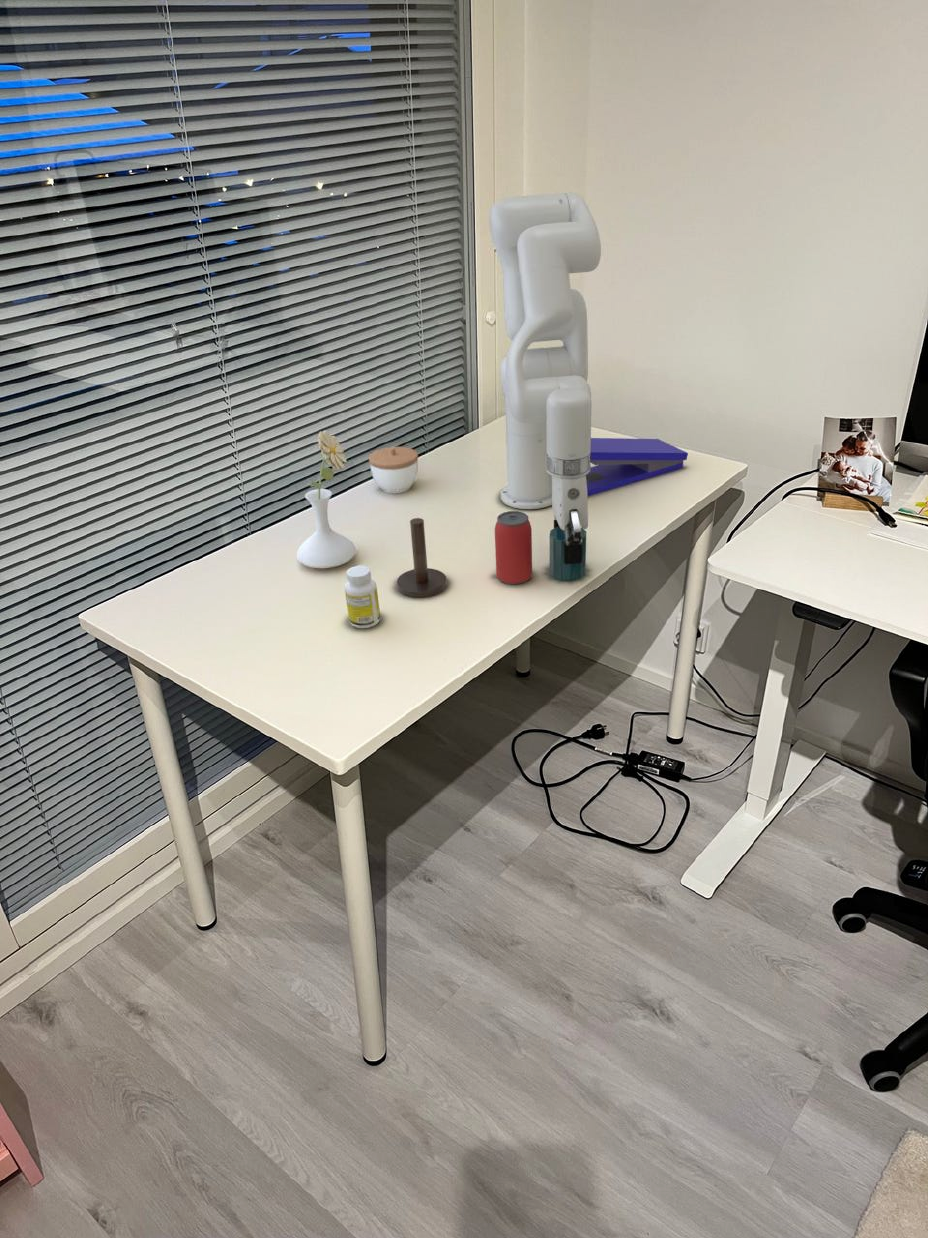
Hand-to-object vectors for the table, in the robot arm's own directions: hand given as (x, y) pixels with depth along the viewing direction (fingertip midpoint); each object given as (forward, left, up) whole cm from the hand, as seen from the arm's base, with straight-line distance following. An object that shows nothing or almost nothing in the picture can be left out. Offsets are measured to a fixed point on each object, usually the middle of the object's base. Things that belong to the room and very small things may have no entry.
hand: (567, 550), depth 174 cm
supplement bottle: (+34, -19, -5) cm, 39 cm away
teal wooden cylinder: (0, 0, -4) cm, 4 cm away
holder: (+19, -19, -4) cm, 27 cm away
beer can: (+7, -7, -5) cm, 11 cm away
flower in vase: (+21, -41, -5) cm, 46 cm away
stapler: (-44, -15, -5) cm, 47 cm away
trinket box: (-11, -53, -5) cm, 54 cm away
